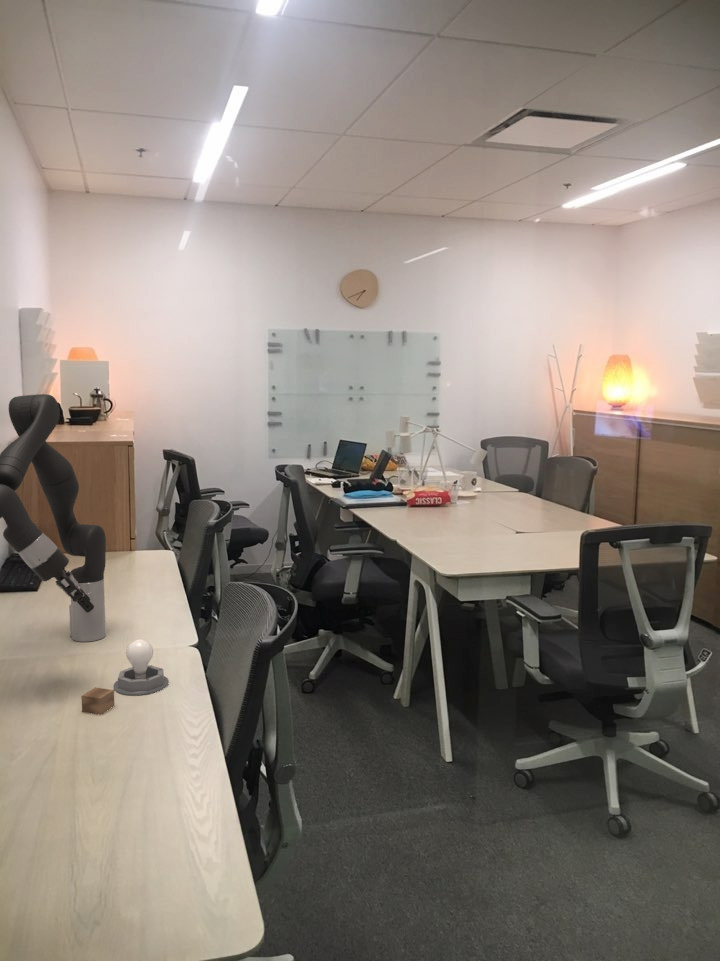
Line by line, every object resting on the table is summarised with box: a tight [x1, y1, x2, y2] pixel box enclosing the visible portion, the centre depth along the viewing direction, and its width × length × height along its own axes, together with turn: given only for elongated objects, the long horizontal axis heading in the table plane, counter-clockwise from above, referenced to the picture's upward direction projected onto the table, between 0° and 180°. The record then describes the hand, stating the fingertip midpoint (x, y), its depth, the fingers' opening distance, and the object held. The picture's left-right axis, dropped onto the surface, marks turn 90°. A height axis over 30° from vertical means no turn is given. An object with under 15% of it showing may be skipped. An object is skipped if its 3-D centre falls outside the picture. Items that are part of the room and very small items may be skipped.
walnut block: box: [80, 687, 115, 716], centre depth 175 cm, size 5×5×4 cm
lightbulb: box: [125, 638, 154, 680], centre depth 188 cm, size 6×6×11 cm
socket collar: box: [113, 664, 170, 697], centre depth 189 cm, size 13×13×3 cm
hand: (89, 606), depth 187 cm, fingers open, 8 cm apart
